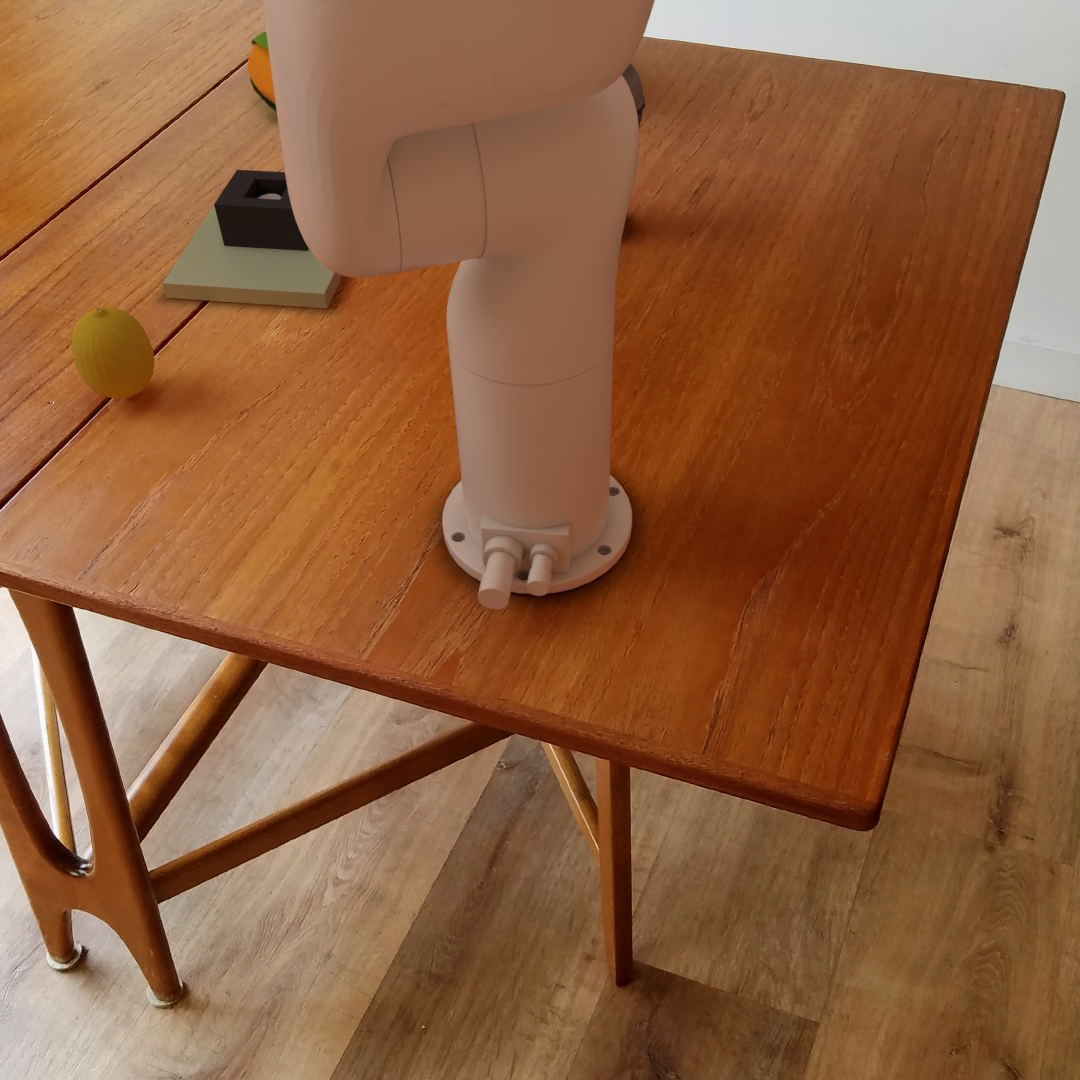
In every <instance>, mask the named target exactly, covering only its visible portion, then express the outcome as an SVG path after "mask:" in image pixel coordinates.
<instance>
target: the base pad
mask: <svg viewBox="0 0 1080 1080" xmlns="http://www.w3.org/2000/svg"><path fill="white" fill-rule="evenodd" d="M259 198H260V199H279V200H280V199H281V196H280V195H277V194H265V195H262V196H260V197H259ZM343 277H344V276H343V275H339V274H337V273H335V272H333V271H331V270H329V269H328V268H327V267H325V266H324V265H323V264H322V263H321V262H320V261H319V260H318V259H317V258H316V257H315V256H314V255H313V253H312V252H311V251H310V249H308V251H301V250H284V249H267V248H250V247H234V246H224V243H223V239H222V235H221V231H220V227H219V223H218V219H217V215H216V211H215V207H214V205H213V206H212V207H211V209H210V210H209V212H208V213H207V214H206V216H205V218H204V219H203V221H202V222H201V224H200V225H199V226H198V228H197V230H196V231H195V233H194V234H193V236H192V237H191V239H190V241H189V242H188V244H187V245H186V246H185V248H184V250H183V251H182V253H181V254H180V256H179V257H178V258H177V260H176V262H175V263H174V265H173V266H172V268H171V269H170V271H169V272H168V274H167V275H166V277H165V278H164V280H163V281H162V282H161V283H162V286H163V290H164V293H165V297H166V298H167V299H177V300H190V301H192V300H193V301H204V302H205V301H206V302H220V303H221V302H222V303H236V304H237V303H238V304H251V305H266V306H281V307H295V308H296V307H297V308H311V309H325V310H326V309H328V308H329V306H330V305H331V302H332V299H333V297H334V295H335V293H336V291H337V289H338V286H339V285H340V282H341V280H342V278H343Z"/></svg>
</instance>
